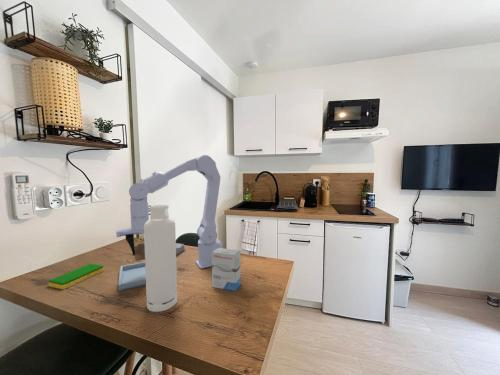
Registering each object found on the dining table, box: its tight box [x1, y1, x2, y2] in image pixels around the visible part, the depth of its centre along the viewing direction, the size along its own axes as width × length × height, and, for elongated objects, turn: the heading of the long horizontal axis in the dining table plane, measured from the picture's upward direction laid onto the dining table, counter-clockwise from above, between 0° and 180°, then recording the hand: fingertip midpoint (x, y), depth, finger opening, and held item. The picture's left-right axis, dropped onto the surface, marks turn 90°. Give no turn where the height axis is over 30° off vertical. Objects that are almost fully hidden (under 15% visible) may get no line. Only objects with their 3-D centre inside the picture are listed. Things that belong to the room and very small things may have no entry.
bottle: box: [143, 204, 178, 313], centre depth 59 cm, size 8×8×28 cm
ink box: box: [211, 247, 242, 292], centre depth 68 cm, size 8×5×12 cm, turn 71°
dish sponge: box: [48, 263, 105, 290], centre depth 75 cm, size 7×14×2 cm, turn 163°
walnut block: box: [134, 242, 145, 262], centre depth 75 cm, size 4×4×5 cm
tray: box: [117, 261, 146, 292], centre depth 76 cm, size 14×16×2 cm
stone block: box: [176, 242, 185, 256], centre depth 97 cm, size 12×5×10 cm
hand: (141, 253), depth 75 cm, fingers closed on walnut block, 4 cm apart
